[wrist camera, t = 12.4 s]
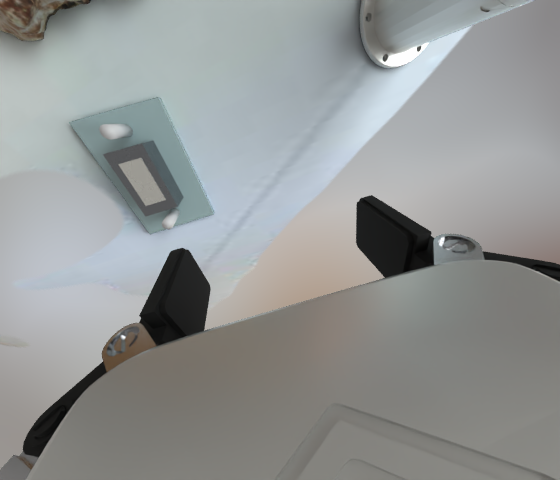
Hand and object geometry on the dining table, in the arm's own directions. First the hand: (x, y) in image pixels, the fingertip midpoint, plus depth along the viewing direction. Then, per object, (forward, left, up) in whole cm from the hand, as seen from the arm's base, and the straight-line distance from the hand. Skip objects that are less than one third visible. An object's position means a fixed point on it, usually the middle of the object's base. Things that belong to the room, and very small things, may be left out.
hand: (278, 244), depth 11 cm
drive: (+15, -2, -26) cm, 30 cm away
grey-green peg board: (+15, -2, -27) cm, 31 cm away
